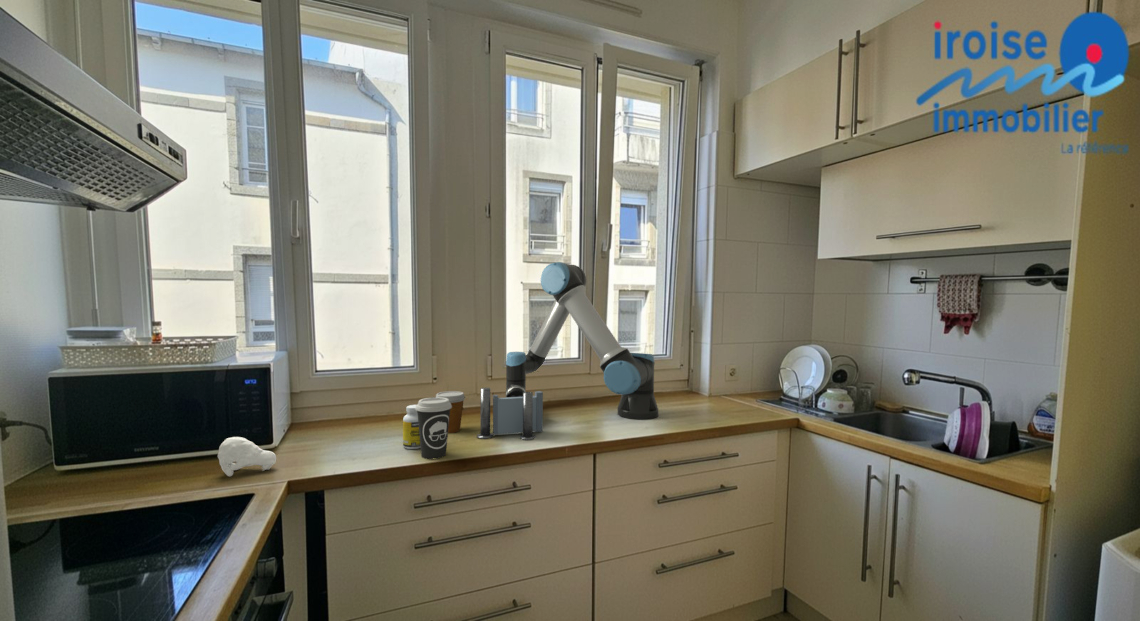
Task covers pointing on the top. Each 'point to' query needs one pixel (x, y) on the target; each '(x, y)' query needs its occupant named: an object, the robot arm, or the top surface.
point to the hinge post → (485, 415)
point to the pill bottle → (411, 429)
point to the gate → (515, 414)
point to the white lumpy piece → (243, 455)
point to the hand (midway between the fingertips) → (517, 412)
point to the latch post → (527, 416)
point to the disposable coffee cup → (454, 408)
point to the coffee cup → (433, 426)
